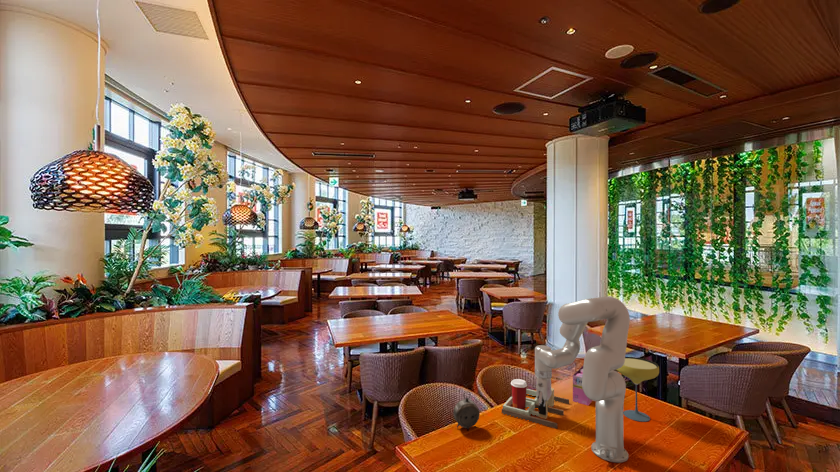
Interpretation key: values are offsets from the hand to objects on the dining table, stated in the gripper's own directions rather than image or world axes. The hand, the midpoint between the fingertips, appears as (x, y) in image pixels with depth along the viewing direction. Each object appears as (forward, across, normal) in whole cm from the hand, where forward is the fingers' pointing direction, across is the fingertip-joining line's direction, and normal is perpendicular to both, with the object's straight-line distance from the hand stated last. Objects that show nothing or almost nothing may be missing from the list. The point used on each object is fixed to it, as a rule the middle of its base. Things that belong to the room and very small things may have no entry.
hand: (543, 412), depth 165 cm
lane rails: (+2, +7, +5) cm, 9 cm away
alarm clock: (+3, -29, +26) cm, 39 cm away
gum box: (+3, +36, -14) cm, 38 cm away
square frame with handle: (+2, +14, +8) cm, 16 cm away
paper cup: (+2, 0, +12) cm, 12 cm away
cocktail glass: (+2, +25, -36) cm, 44 cm away
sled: (+2, 0, +8) cm, 8 cm away
